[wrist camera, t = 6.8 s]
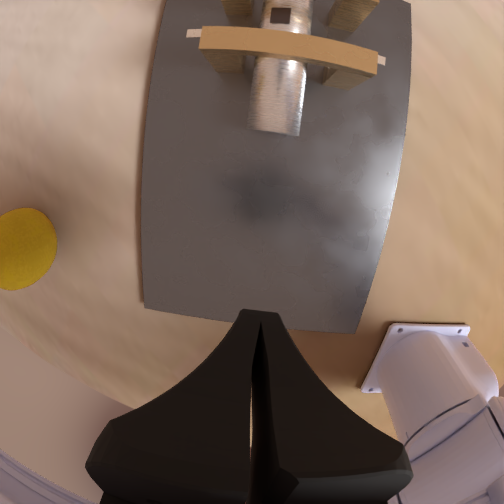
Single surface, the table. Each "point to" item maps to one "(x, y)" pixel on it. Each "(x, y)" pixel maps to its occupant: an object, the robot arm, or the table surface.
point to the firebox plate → (272, 163)
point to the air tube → (280, 72)
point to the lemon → (25, 247)
